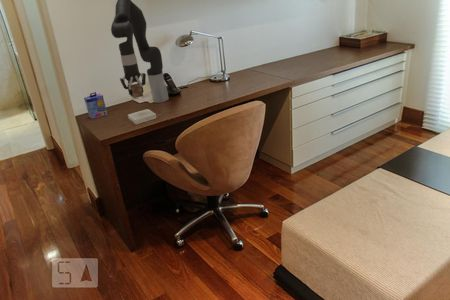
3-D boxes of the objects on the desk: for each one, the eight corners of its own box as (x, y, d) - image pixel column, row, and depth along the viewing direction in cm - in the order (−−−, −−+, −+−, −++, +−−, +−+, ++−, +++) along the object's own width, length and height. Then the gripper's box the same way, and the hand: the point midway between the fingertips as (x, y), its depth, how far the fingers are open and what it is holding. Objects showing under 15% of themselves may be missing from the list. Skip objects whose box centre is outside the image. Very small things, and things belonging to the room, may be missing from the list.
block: (140, 94, 197) (137, 83, 194) (143, 96, 193) (140, 84, 191) (131, 96, 195) (128, 85, 192) (134, 98, 191) (131, 87, 188)
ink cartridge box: (92, 119, 208) (84, 95, 202) (89, 117, 212) (81, 93, 206) (108, 114, 213) (101, 90, 207) (105, 112, 217) (98, 89, 211)
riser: (148, 112, 207) (147, 108, 206) (156, 118, 198) (155, 113, 197) (128, 118, 202) (127, 114, 201) (135, 124, 193) (134, 119, 191)
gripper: (140, 59, 192) (146, 90, 200) (114, 65, 186) (121, 96, 194) (145, 61, 186) (151, 92, 194) (118, 67, 180) (126, 99, 188)
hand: (136, 94), depth 194 cm, fingers closed on block, 5 cm apart
